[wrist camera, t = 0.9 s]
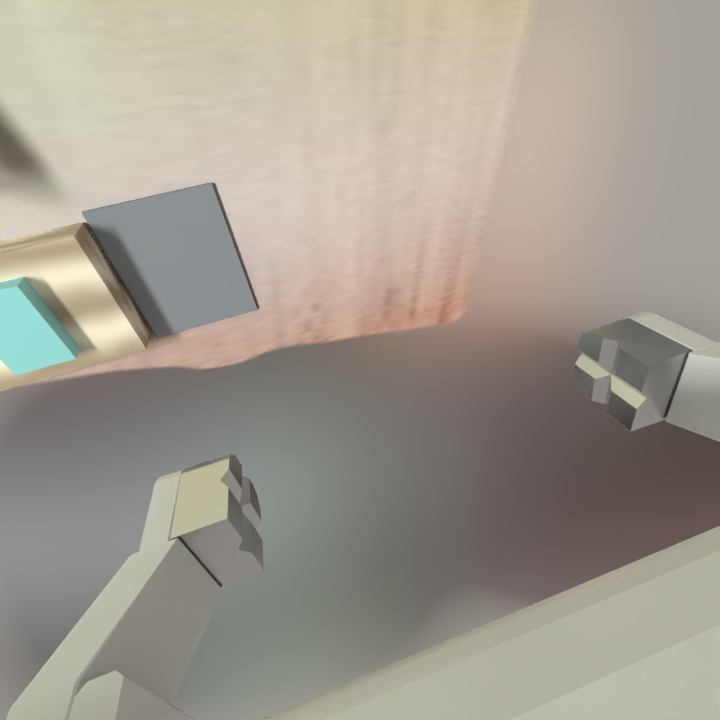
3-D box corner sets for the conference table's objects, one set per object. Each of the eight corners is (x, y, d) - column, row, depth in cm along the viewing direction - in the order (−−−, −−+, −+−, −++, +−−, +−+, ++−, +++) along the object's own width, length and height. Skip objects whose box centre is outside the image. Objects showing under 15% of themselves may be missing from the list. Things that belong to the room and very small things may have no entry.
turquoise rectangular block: (-45, 293, 36) (-56, 303, 35) (24, 276, 37) (16, 285, 36) (22, 364, 42) (15, 375, 41) (80, 348, 43) (76, 358, 41)
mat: (82, 211, 39) (81, 212, 39) (211, 182, 41) (211, 183, 41) (157, 336, 49) (157, 337, 49) (257, 308, 51) (257, 309, 51)
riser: (-93, 262, 37) (-118, 281, 34) (83, 222, 39) (74, 236, 36) (12, 369, 46) (-1, 391, 43) (149, 331, 49) (146, 349, 46)
